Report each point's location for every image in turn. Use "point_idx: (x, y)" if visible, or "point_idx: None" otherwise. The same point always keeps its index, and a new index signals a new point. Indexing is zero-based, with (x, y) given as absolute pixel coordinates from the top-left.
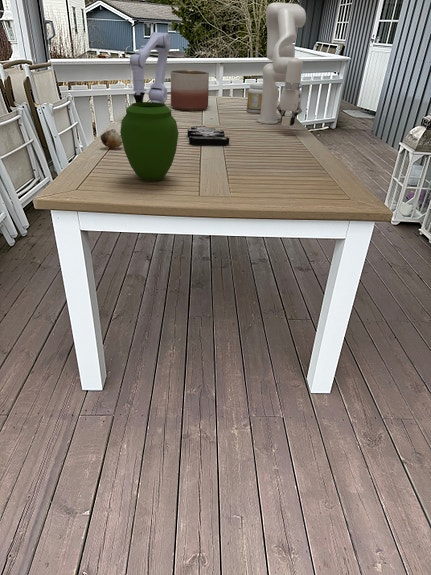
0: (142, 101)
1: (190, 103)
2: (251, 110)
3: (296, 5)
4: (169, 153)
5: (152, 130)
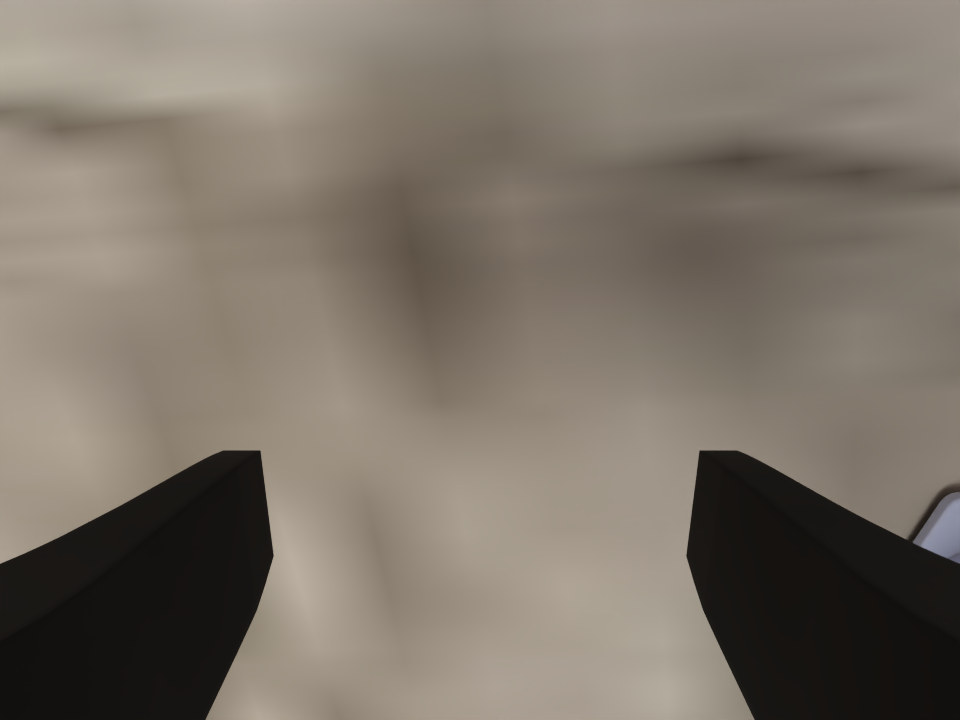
0: (748, 699)
1: None
2: None
3: None
4: None
5: None
